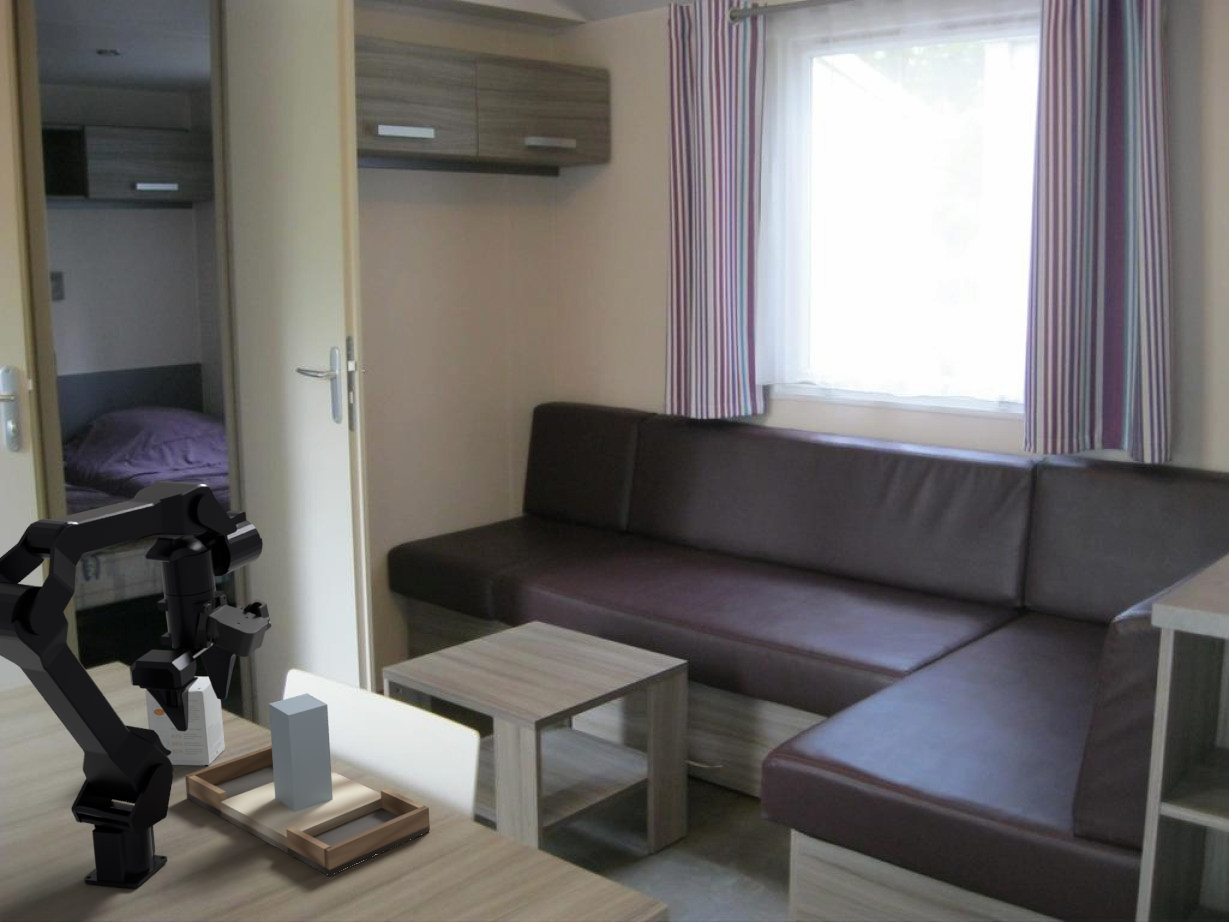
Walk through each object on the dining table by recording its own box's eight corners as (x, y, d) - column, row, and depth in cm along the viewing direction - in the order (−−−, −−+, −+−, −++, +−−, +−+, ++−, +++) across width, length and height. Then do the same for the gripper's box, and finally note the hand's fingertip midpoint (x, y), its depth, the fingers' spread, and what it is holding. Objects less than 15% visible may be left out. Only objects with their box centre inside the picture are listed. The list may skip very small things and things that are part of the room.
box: (429, 831, 152) (428, 807, 151) (329, 876, 142) (328, 851, 141) (283, 763, 172) (282, 741, 171) (186, 798, 162) (185, 775, 161)
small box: (225, 749, 177) (220, 676, 175) (209, 767, 171) (203, 690, 169) (169, 748, 177) (163, 674, 176) (150, 765, 172) (144, 689, 170)
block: (332, 799, 156) (327, 704, 154) (294, 811, 153) (288, 715, 151) (312, 786, 160) (307, 693, 158) (275, 798, 157) (268, 703, 155)
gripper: (213, 618, 140) (227, 753, 143) (290, 566, 158) (300, 687, 161) (120, 614, 142) (135, 746, 146) (205, 563, 160) (218, 682, 163)
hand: (202, 714), depth 154 cm, fingers open, 9 cm apart
